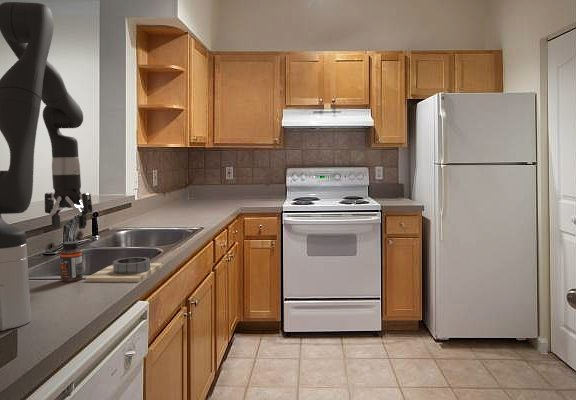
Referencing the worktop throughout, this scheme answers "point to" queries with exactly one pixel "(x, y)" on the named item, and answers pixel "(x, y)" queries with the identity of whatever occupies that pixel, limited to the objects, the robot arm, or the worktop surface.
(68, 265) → the supplement bottle
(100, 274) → the base board
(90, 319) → the worktop surface
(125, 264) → the collar
